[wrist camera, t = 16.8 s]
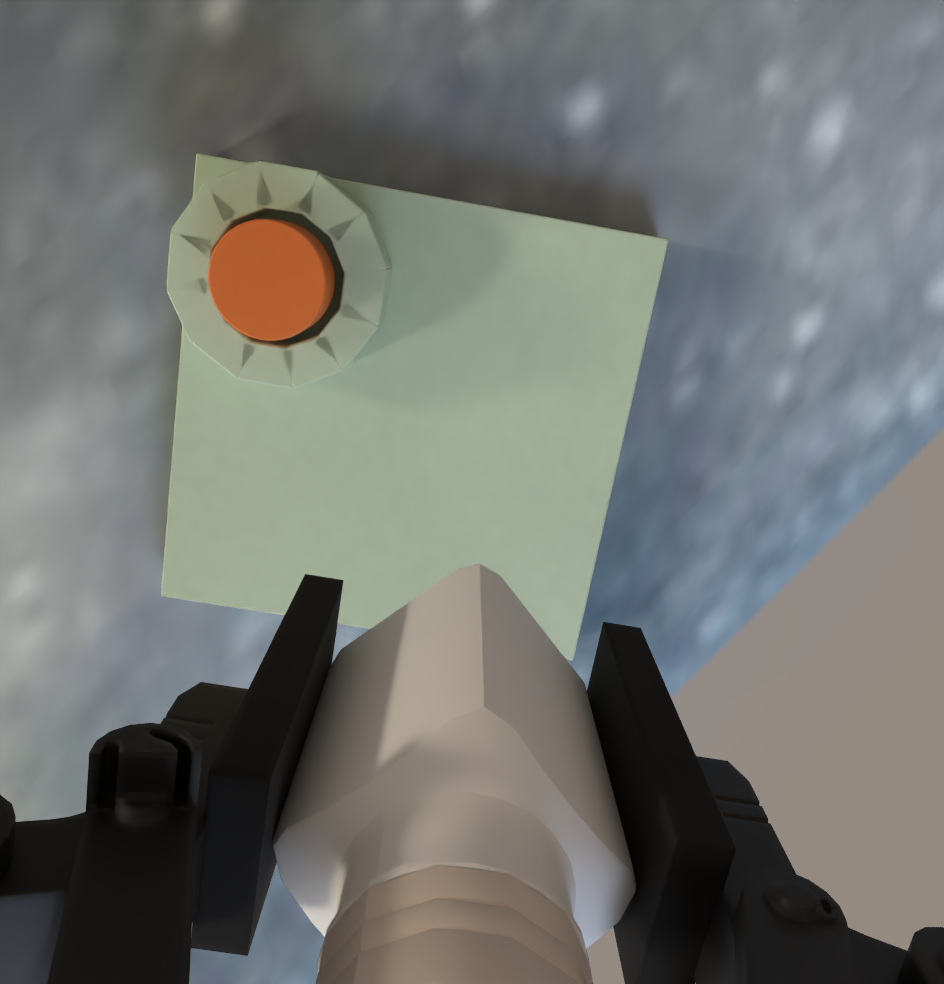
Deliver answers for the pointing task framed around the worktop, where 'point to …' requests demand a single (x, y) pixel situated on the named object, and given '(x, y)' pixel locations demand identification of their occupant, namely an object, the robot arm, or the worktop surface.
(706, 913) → the robot arm
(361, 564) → the scale
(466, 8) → the worktop surface
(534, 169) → the worktop surface
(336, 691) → the pepper shaker
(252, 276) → the button
